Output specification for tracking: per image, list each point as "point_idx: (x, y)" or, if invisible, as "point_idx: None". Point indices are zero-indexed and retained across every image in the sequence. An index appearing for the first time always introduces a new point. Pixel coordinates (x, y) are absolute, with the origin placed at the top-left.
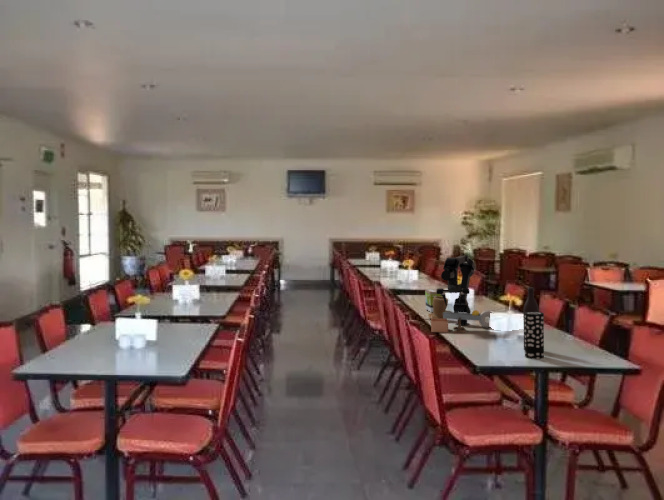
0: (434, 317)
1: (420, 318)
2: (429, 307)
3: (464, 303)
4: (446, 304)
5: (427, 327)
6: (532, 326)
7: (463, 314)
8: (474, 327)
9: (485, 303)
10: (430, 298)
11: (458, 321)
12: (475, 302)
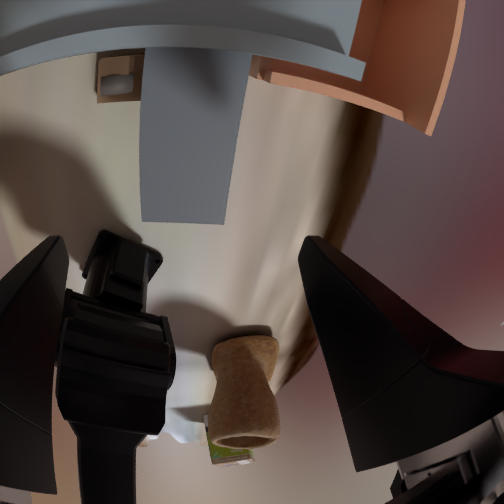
0: (264, 348)
1: (294, 363)
2: None
3: (62, 369)
4: (322, 249)
5: (360, 169)
6: None
7: (52, 40)
8: (36, 161)
9: None
10: None
11: (138, 54)
12: (146, 444)
